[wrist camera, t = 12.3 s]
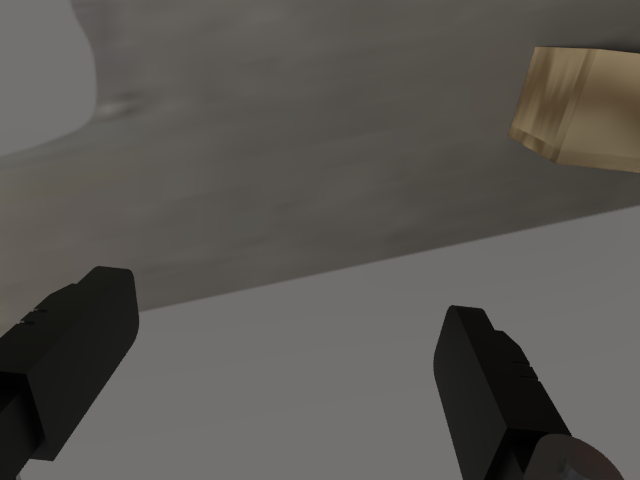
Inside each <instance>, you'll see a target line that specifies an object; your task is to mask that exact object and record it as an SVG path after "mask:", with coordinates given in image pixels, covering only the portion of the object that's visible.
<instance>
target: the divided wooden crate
mask: <svg viewBox="0 0 640 480" xmlns="http://www.w3.org/2000/svg"><path fill="white" fill-rule="evenodd" d="M508 136H509V137H511V138H512V139H514V140H516V141H518V142H519V143H521V144H523V145H525V146H526V147H528V148H530V149H531V150H533V151H535V152H537V153H538V154H540V155H542V156H544V157H545V158H547V159H549V160H551V161H552V162H554V163H556V164H565V165H574V166H583V167H592V168H601V169H610V170H619V171H629V172H638V173H640V54H638V53H629V52H620V51H611V50H602V49H582V48H556V47H535V50H534V54H533V57H532V60H531V63H530V67H529V70H528V73H527V77H526V80H525V83H524V86H523V90H522V93H521V96H520V99H519V103H518V106H517V109H516V112H515V116H514V119H513V122H512V125H511V129H510V132H509V135H508Z"/></svg>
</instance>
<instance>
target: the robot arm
mask: <svg viewBox="0 0 640 480" xmlns="http://www.w3.org/2000/svg"><path fill="white" fill-rule="evenodd" d="M138 328H139V314H138V306H137V298H136V290H135V283H134V276H133V273H132V272H131V270H129V269H121V268H112V267H103V266H97V267H95V268H94V269H92V270H91V271H90V272H89V273H88V274H87V275H86V276H85V277H84V278H83V279H82V280H80V281H79V282H78V283H77V284H73V283H72V284H70V285H68V286H66V287H64V288H62V289H60V290H58V291H56V292H54V293H52V294H50V295H49V296H48V297H46V298H45V299H44V300H43V301H42V302H41V303H40V304H38V305H37V306H36V307H35V308H34V311H33V312H29V313H28V314H27V315H26V316H25V317H24V318H23V319H21V320H20V323H19V324H16V325H15V326H13V327H12V328H11V329H10V330H9V331H8V332H7V333H5V334H4V335H3V336H2V337H1V338H0V480H21V477H20V474H19V472H20V471H21V469H22V468H23V467H24V465H25V464H26V463H27V461H28V460H29V459H37V460H47V461H54V459H55V458H56V456H57V455H58V453H59V452H60V450H61V449H62V447H63V446H64V444H65V443H66V442H67V440H68V438H69V437H70V436H71V434H72V433H73V431H74V430H75V428H76V427H77V425H78V424H79V422H80V421H81V420H82V418H83V417H84V415H85V414H86V412H87V411H88V409H89V407H90V406H91V405H92V403H93V402H94V400H95V399H96V397H97V396H98V394H99V393H100V392H101V390H102V389H103V387H104V386H105V384H106V383H107V381H108V380H109V378H110V377H111V375H112V374H113V373H114V371H115V370H116V368H117V367H118V365H119V364H120V362H121V361H122V359H123V358H124V356H125V355H126V353H127V352H128V350H129V349H130V348H131V346H132V345H133V343H134V341H135V339H136V336H137V333H138ZM433 364H434V366H433V367H434V376H435V380H436V384H437V388H438V391H439V395H440V398H441V402H442V405H443V409H444V413H445V416H446V420H447V423H448V427H449V431H450V434H451V438H452V441H453V445H454V449H455V452H456V456H457V459H458V463H459V467H460V470H461V474H462V477H463V480H624V479H623V477H622V475H621V474H620V472H619V471H618V470H617V468H616V467H615V466H614V465H613V464H612V463H611V461H609V460H608V458H606V457H605V456H604V455H603V454H602V453H601V452H599V451H598V450H597V449H595V448H594V447H592V446H591V445H589V444H587V443H585V442H584V441H582V440H580V439H577V438H574V437H572V435H571V433H570V431H569V430H568V428H567V426H566V425H565V423H564V421H563V420H562V418H561V416H560V414H559V413H558V411H557V410H556V408H555V406H554V404H553V402H552V401H551V399H550V397H549V396H548V394H547V392H546V391H545V389H544V387H543V385H542V384H541V382H539V381H538V377H537V375H536V373H535V372H534V370H533V368H532V367H530V363H529V361H528V360H527V358H526V356H525V354H524V353H523V351H522V349H521V348H520V346H519V345H518V344H517V343H515V342H514V341H513V340H512V339H511V338H510V337H509V336H508V335H507V334H506V333H505V332H503V331H497V330H494V328H493V326H492V324H491V322H490V320H489V319H488V317H487V315H486V313H485V311H484V310H483V309H481V308H472V307H463V306H454V305H451V306H450V307H449V309H448V310H447V313H446V316H445V319H444V323H443V326H442V330H441V333H440V337H439V340H438V343H437V346H436V350H435V354H434V363H433Z"/></svg>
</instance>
